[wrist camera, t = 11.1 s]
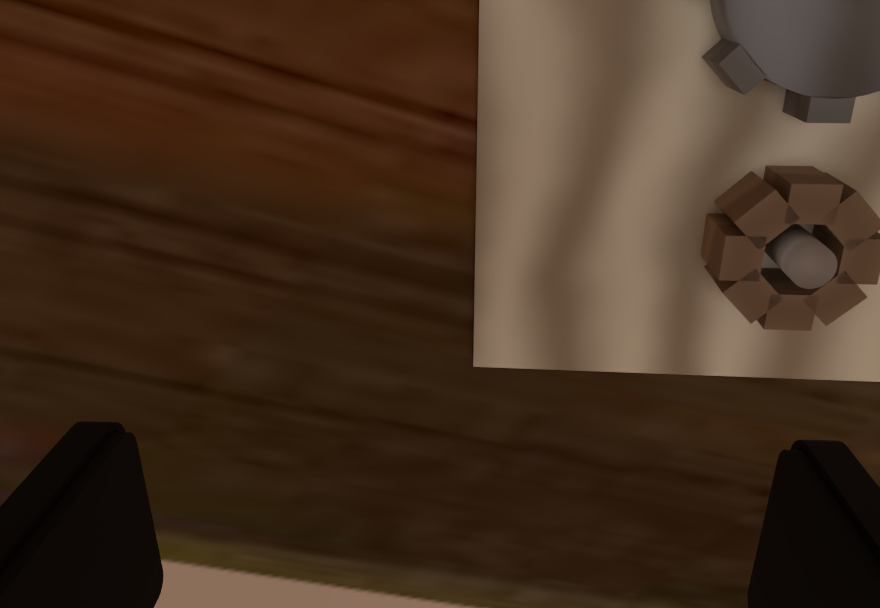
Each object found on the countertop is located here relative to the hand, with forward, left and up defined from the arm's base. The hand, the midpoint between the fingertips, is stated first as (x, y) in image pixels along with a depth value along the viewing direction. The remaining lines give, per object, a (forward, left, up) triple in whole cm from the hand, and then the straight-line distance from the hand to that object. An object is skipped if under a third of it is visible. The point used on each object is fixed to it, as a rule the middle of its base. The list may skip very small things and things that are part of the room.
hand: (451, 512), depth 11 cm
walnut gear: (+14, -4, -27) cm, 31 cm away
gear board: (+11, +3, -28) cm, 31 cm away
